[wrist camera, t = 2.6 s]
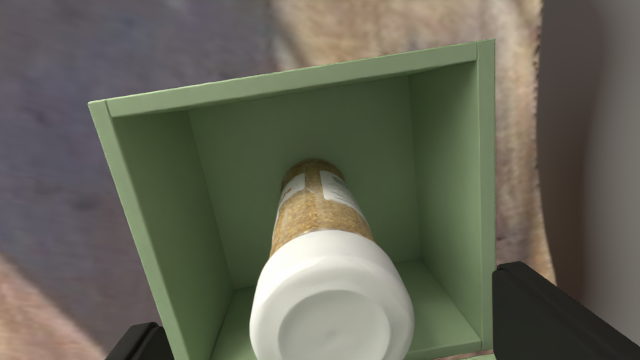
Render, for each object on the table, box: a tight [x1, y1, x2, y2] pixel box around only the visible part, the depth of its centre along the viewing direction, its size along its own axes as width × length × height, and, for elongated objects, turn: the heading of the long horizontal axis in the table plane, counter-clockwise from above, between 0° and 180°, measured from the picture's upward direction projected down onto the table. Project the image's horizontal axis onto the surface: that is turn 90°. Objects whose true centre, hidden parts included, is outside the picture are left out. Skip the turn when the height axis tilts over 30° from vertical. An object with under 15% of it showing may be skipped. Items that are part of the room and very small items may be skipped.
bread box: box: [88, 38, 496, 360], centre depth 18 cm, size 14×15×9 cm
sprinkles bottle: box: [250, 159, 415, 360], centre depth 15 cm, size 5×5×13 cm
